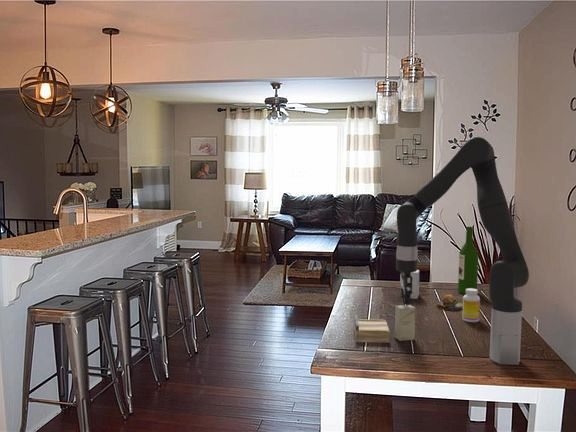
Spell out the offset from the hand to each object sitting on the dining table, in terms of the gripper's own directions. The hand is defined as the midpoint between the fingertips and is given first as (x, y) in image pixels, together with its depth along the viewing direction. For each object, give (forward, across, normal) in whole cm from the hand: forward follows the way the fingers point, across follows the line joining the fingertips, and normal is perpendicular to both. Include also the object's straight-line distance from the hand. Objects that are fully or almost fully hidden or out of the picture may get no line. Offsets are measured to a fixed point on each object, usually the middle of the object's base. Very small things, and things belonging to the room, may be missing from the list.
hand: (405, 301), depth 200 cm
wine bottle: (+15, +72, -39) cm, 83 cm away
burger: (+15, +45, -26) cm, 54 cm away
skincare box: (+14, 0, 0) cm, 14 cm away
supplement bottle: (+14, +25, -30) cm, 41 cm away
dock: (+14, +1, +12) cm, 19 cm away
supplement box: (+15, +62, -10) cm, 64 cm away
